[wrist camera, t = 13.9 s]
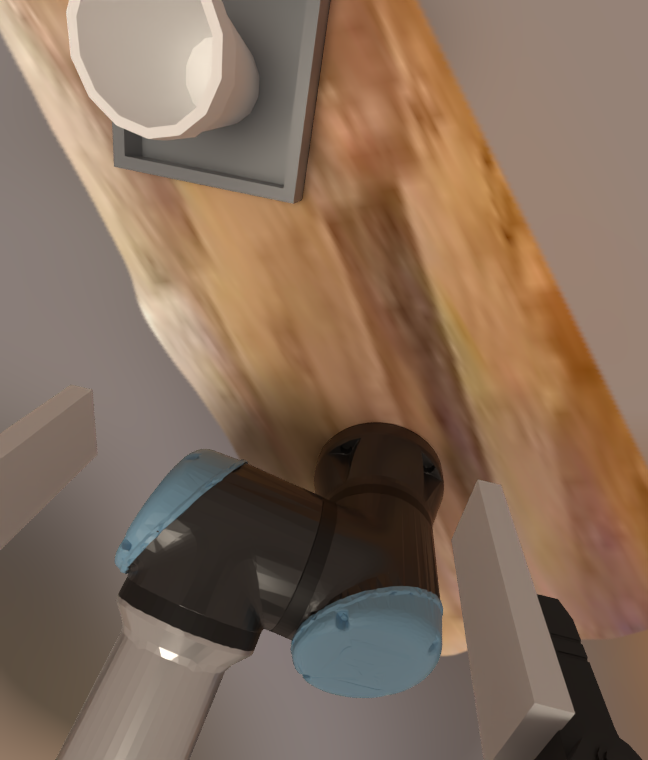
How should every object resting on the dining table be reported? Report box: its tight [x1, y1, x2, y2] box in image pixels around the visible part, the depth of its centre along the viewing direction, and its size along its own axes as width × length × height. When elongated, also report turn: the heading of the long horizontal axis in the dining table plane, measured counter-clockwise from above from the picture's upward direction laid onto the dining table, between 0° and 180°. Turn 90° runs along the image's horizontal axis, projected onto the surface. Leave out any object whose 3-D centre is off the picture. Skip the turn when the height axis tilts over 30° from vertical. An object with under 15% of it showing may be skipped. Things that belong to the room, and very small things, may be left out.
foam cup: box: [66, 0, 259, 140], centre depth 31 cm, size 10×9×13 cm
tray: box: [112, 0, 330, 203], centre depth 36 cm, size 16×16×4 cm
